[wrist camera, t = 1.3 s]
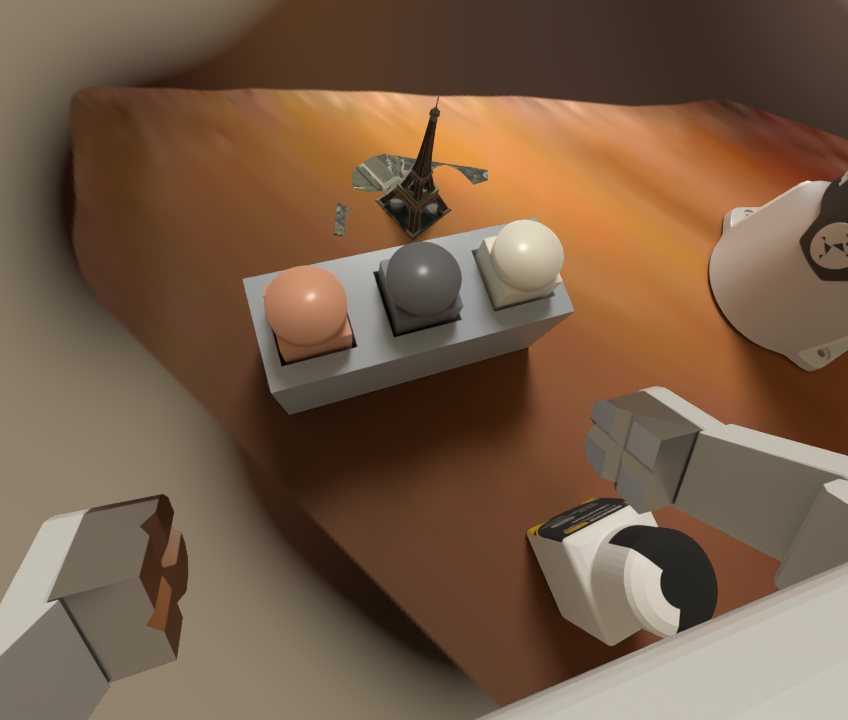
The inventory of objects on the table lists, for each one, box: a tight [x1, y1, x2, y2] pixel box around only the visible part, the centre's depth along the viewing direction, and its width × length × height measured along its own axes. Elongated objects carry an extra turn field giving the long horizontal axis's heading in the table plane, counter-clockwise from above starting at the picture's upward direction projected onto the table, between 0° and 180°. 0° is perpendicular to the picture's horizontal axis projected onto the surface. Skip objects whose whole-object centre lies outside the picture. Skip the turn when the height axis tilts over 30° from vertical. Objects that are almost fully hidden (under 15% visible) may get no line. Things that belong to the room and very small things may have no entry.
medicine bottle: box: [527, 498, 718, 646], centre depth 31 cm, size 7×7×12 cm
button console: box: [243, 218, 575, 415], centre depth 36 cm, size 22×8×9 cm, turn 108°
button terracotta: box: [263, 266, 352, 365], centre depth 30 cm, size 5×5×8 cm
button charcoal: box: [377, 241, 463, 337], centre depth 32 cm, size 5×5×8 cm
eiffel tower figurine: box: [334, 97, 488, 239], centre depth 38 cm, size 15×10×13 cm
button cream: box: [474, 220, 564, 312], centre depth 34 cm, size 5×5×8 cm
